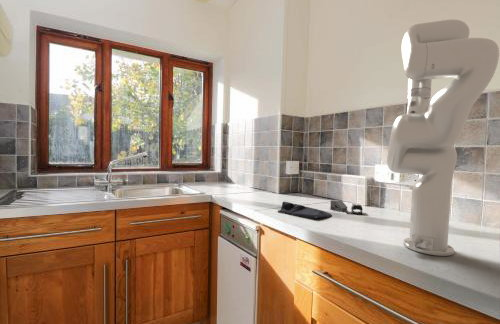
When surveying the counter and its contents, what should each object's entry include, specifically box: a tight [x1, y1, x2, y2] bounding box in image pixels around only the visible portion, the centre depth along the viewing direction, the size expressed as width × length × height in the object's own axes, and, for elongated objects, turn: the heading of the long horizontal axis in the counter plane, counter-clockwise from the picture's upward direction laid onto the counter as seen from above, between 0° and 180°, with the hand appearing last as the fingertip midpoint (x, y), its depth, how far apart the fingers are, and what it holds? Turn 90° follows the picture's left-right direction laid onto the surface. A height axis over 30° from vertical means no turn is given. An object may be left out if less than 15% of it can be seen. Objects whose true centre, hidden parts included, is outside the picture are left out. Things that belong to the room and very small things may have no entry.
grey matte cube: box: [329, 199, 348, 213], centre depth 130 cm, size 5×6×5 cm
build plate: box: [345, 203, 369, 217], centre depth 123 cm, size 12×7×5 cm, turn 80°
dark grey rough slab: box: [277, 201, 333, 220], centre depth 121 cm, size 15×22×5 cm
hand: (416, 140), depth 102 cm, fingers open, 9 cm apart
